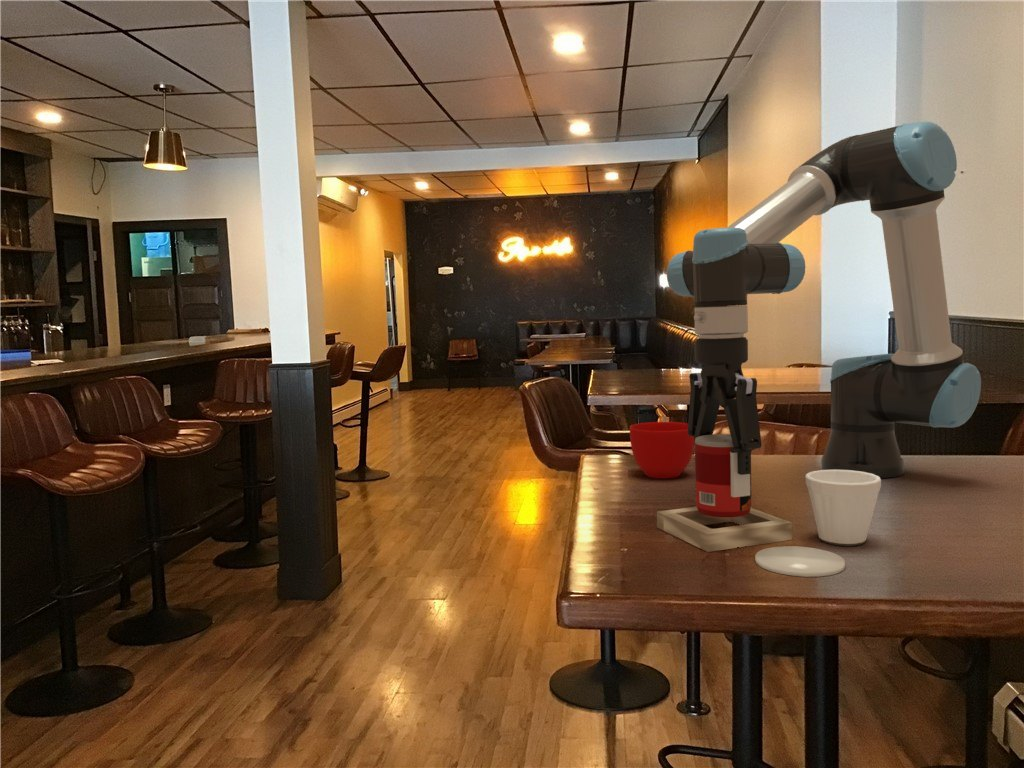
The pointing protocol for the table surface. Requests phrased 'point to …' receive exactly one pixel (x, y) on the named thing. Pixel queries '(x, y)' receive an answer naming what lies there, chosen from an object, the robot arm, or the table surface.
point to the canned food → (717, 478)
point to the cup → (843, 504)
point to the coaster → (800, 561)
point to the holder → (723, 529)
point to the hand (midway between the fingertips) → (723, 489)
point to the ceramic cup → (661, 448)
